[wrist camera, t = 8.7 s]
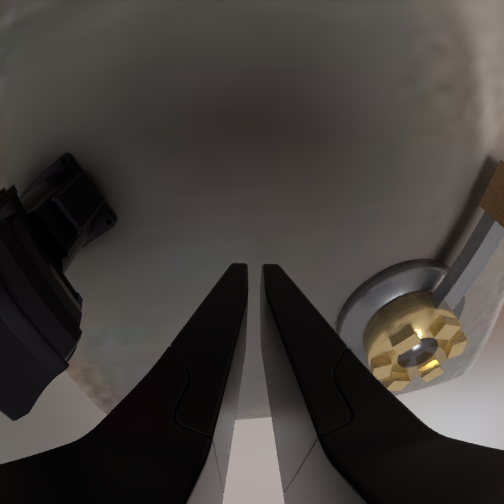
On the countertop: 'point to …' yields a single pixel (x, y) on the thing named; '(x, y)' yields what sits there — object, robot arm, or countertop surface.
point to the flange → (387, 298)
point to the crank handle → (433, 307)
